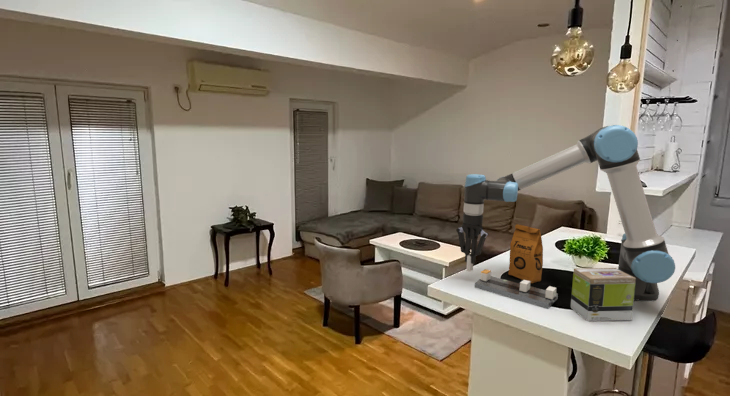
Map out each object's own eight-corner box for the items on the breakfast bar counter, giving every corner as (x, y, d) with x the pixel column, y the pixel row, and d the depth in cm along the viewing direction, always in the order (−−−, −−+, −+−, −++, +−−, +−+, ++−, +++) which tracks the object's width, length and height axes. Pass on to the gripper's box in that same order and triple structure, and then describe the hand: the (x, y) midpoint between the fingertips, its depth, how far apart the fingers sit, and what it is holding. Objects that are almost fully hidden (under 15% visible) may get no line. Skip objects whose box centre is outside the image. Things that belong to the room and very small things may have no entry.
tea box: (611, 307, 134) (616, 266, 132) (632, 321, 125) (638, 278, 122) (568, 307, 134) (573, 266, 131) (586, 321, 124) (591, 278, 121)
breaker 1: (490, 278, 153) (491, 270, 153) (486, 281, 150) (486, 273, 150) (484, 276, 155) (485, 269, 154) (480, 279, 152) (480, 271, 151)
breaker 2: (529, 288, 144) (530, 281, 143) (526, 292, 141) (526, 284, 140) (523, 287, 145) (523, 279, 145) (519, 290, 142) (520, 282, 142)
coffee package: (530, 285, 153) (535, 231, 149) (504, 275, 163) (508, 224, 159) (545, 280, 158) (550, 228, 154) (519, 271, 168) (523, 222, 165)
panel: (560, 299, 140) (560, 294, 140) (551, 309, 132) (551, 303, 132) (486, 279, 158) (486, 274, 158) (474, 287, 150) (474, 282, 150)
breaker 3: (555, 295, 138) (556, 287, 137) (552, 299, 135) (553, 291, 134) (548, 294, 139) (549, 286, 139) (545, 297, 136) (545, 289, 136)
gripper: (493, 214, 151) (488, 272, 155) (462, 209, 160) (459, 264, 164) (484, 217, 146) (480, 277, 150) (453, 212, 154) (450, 268, 158)
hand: (469, 270), depth 157 cm, fingers closed
